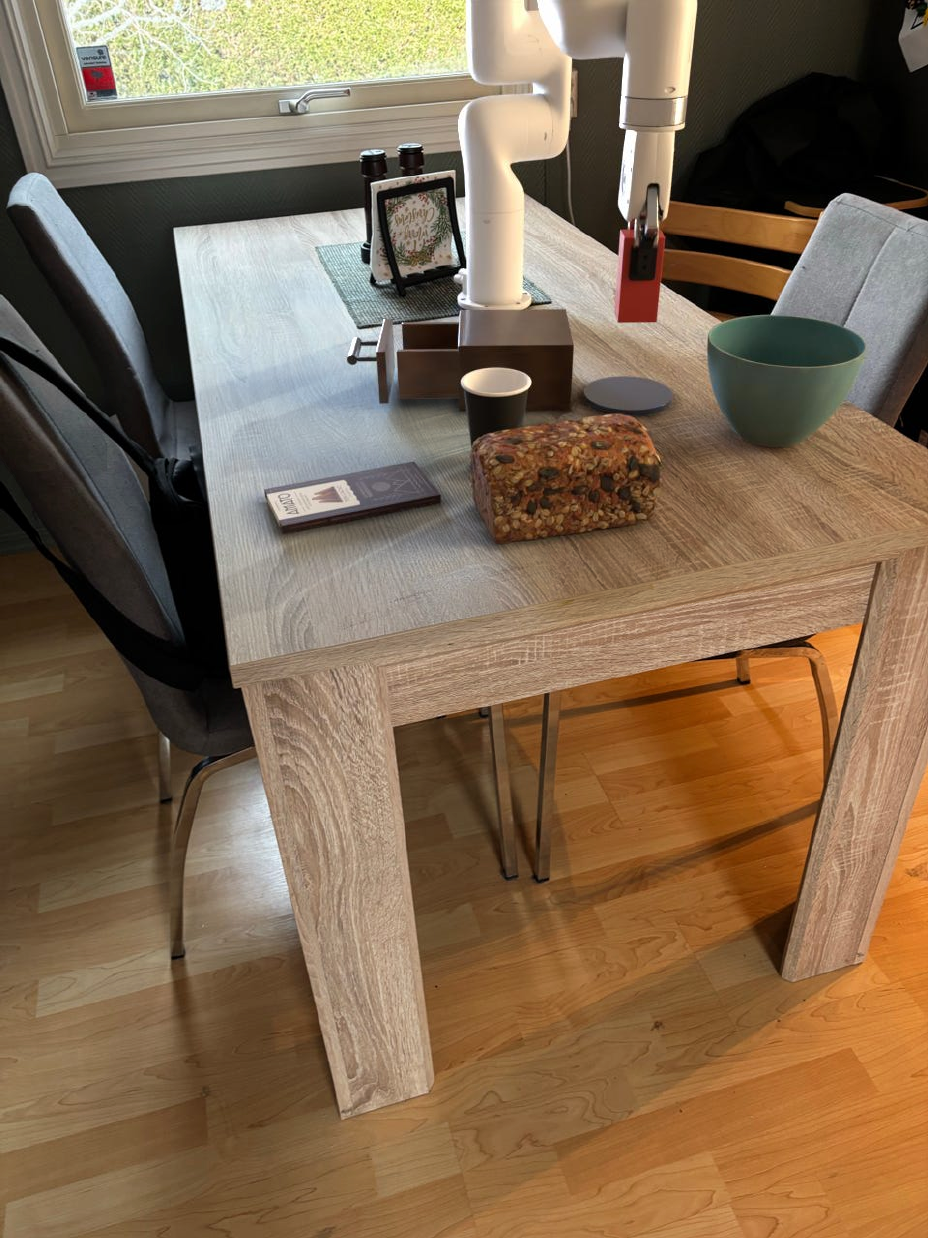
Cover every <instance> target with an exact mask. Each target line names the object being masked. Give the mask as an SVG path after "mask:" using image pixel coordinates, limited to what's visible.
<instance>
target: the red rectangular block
mask: <svg viewBox="0 0 928 1238" xmlns="http://www.w3.org/2000/svg"><path fill="white" fill-rule="evenodd" d="M640 231H641V229H640ZM634 232H635V229H633V230H628V229H620V231H619V243H618V257H617V270H616V271H617V272H616V285H615V298H614V310H613V313H614V316H615V319H616V321H617V323H618V324H626V323H627V324H628V323H629V324H631V323H633V324H634V323H635V324H636V323H638V324H639V323H640V324H641V323H657V322H658V314H659V306H660V305H659V304H660V294H661V284H662V275H663V274H662V273H663V263H664V255H665V253H664V252H665V243H666V236H665V235H664V233H663V231H662V230H661V229H660V228H659V232H658V253H657V263H656V273H655V279H654V280H652V281H631V280H630V279H629V267H630V255H631V246H634Z"/></svg>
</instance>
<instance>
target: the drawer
mask: <svg viewBox="0 0 928 1238" xmlns="http://www.w3.org/2000/svg"><path fill="white" fill-rule="evenodd" d="M459 323H460V321H428V322H427V321H420V322H414V321H413V322H410V321H409V322H401V333H402V334H401V335H402V336H401V337H402V349H396V356H395V341H394V340H395V338H394V322H393V318H384V319H383V322H382V326H381V330H380V334H379V339H378V340H363V339H362V338H360V337H358V336H357V337H354V338H353V339H352V340H351V344H350V347H349V351H348V354H347V357H346V363H347V364H349V365H350V366H355V365H356V364H357V363H358V362H359V363H360V362H363V363H365V362H368V363H369V362H376V373H377V390H378V403H379V405H381V404H382V405H388V404H389V402H390V397H391V391H392V385H393V381H394V375H395V370H396V367H397V384H398V385H397V386H398V387H397V388H398V399H399V400H400V399H401V400H403V399H404V400H409V399H411V400H412V399H416V400H418V399H422V400H423V399H459V352H458V344H459ZM362 347H376V351H375V355H360V354H361V350H362ZM395 357H396V358H395ZM395 359H396V360H395Z"/></svg>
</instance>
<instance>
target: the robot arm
mask: <svg viewBox="0 0 928 1238" xmlns="http://www.w3.org/2000/svg"><path fill="white" fill-rule="evenodd" d="M537 5H538V10H537V9H536V10H526V8H525V0H465V13H466V15H465V18H466V21H465V23H466V55H467V65H468V69H469V73H470V76H471V78H472V79H473V81H475V82H476V83H478V84H480V85H484V86H510V85H524V84H526V85H527V84H528V85H529V84H532V89H533V92H528V93H527V92H526V93H507V94H495V95H487V96H482V97H478V98H475V99H472V100H471V101H469V102H468V103H467V104H465V105H464V107H463V108H462V110H461V112H460V114H459V117H458V136H459V144H460V150H461V156H462V163H463V172H464V173H463V174H464V190H465V243H466V244H465V248H466V249H465V251H466V254H465V255H466V259H465V260H466V268H464V267H463V268H460V269H459V270H458V273H456V274H455V275H454V276H453V282H454V283H456V284H460V285H462V291H461V292H460V293H458V295H457V304H458V306H459V307H461V308H462V309H463V310H526V309H527V308H528V307H529V306H530V305H531V304H532V294H531V293H530V292H528V291H527V290H525V289H524V288H523V283H524V282H523V277H524V237H525V236H524V233H525V231H524V230H525V192H524V188H523V186H522V184H521V182H520V179H518V177H517V176H516V174H515V172H513V170H512V168H511V165H512V164H515V163H519V162H520V163H521V162H530V161H541V160H548V159H552V158H555V157H557V156H559V155H560V154H561V153H562V152H563V151H564V150H565V148H566V145H567V142H568V138H569V133H570V123H571V122H570V121H571V120H570V119H571V94H572V69H573V59H574V60H579V61H580V60H596V59H597V60H598V59H609V58H621V59H622V58H623V68H622V82H621V96H620V97H621V98H620V113H619V114H620V115H619V124H618V125H619V128H620V129H622V130H623V129H624V130H626V131H625V138H624V143H623V151H622V161H621V172H620V180H619V189H618V198H617V199H618V200H617V206H618V208H619V209H618V210H619V211H620V213H621V215H622V217H623V218H624V220H625V221H626V222H628V223H627V230H633V229H635V232H634V246H631V255H630V267H629V279H630V280H631V281H652V280H654V279H655V273H656V263H657V253H658V232H659V229H660V223H661V222H664V221H665V220H666V219H667V217H668V212H669V206H670V198H671V187H672V178H673V167H674V166H673V165H674V163H673V162H674V152H675V138H676V137H675V135H676V131H679V130H684V128H685V127H686V117H687V107H688V97H689V87H690V78H691V69H692V68H691V67H692V58H693V50H694V39H695V29H696V20H697V11H698V0H537ZM640 229H641V231H640Z"/></svg>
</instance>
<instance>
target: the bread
mask: <svg viewBox="0 0 928 1238" xmlns="http://www.w3.org/2000/svg"><path fill="white" fill-rule="evenodd" d="M469 463H470V464H469V468H470V471H469V476H470V481H469V482H470V483H471V484H470V485H471V486H470V488H471V490H472V501H473V503H474V505H475V507H476V508H477V511H478V514H479V517H481V518H482V519H483V520H484V522H485V526H486V529H487V531H488V533H489V534H490V537H491V538H492V540H493V541H494V543H498V544H500V545H505V544H509V543H511V542H513V541H529V540H536V539H538V538H541V539H542V538H543V539H545V538H552V537H555V536H561V535H571V534H580V533H583V532H591V531H593V530H595V529H603V530H604V529H609V528H618V527H623V526H624V527H625V526H628V525H629V526H630V525H635V524H637V523H638V522H639V521H641V522H646V521H649V520H651V519H653V518H654V514H655V513H656V507H657V505H658V504H657V501H658V498H659V496H660V493H661V487H662V476H661V472H662V468H663V467H664V466H663V465H662V461H661V458H660V456H659V454H658V453H657V451H656V448H655V445H654V443H653V441H652V439H651V437H650V435H649V434H648V429H647V428H646V427H645V426H644V425H643V424H642V423H641V422H639V421H638V420H637V418H636V417H635V416H631V415H624V414H620V413H619V414H609V413H607V414H604V415H601V414H595V415H592V416H586V417H581V418H567V419H563V420H560V421H556V422H547V423H539V424H538V425H529V426H523V427H521V428H516V429H510V430H503V431H497V432H494V433H489V434H486V435H484V436H482V437H480V438H478V439H477V440H476V441H475V442H474V443H473V445H472V448H471V447H470V455H469Z"/></svg>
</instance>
